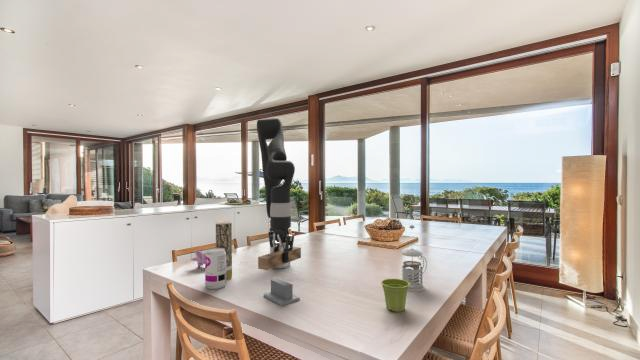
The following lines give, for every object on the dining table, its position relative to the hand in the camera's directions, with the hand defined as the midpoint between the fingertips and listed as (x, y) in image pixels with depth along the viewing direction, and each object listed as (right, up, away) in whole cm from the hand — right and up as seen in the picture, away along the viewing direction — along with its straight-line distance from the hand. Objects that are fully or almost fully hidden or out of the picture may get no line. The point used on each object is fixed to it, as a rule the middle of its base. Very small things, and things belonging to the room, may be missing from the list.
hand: (280, 260), depth 117 cm
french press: (+52, -13, +11) cm, 55 cm away
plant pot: (+40, -14, -10) cm, 43 cm away
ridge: (0, -14, 0) cm, 14 cm away
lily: (-43, -14, +40) cm, 61 cm away
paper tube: (-28, -14, +25) cm, 40 cm away
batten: (0, -1, 0) cm, 1 cm away
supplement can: (-28, -14, +14) cm, 35 cm away
